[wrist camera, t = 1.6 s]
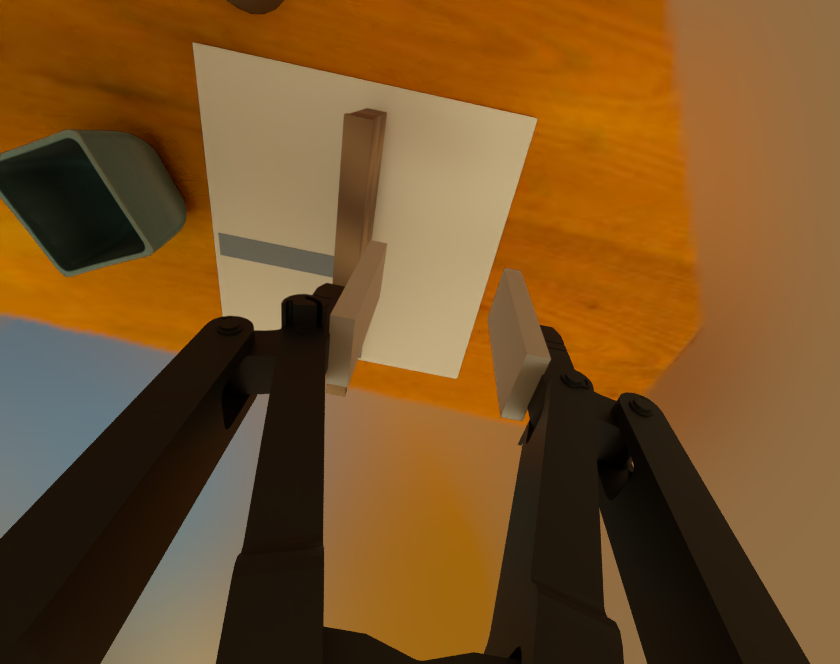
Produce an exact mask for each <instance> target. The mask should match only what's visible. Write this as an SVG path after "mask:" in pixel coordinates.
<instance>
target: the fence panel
mask: <svg viewBox="0 0 840 664" xmlns="http://www.w3.org/2000/svg"><path fill="white" fill-rule="evenodd" d="M386 117H387V112H383V111H379V110H374V109H370V108H366V109H363V110H359V111H356V112H353V113H350V114H349V113H345V114H344V121H343V135H342V150H341V165H340V180H339V194H338V209H337V224H336V239H335V253H334V268H333V283H332V284H335V285H340V286H346V285H347V283H348V281H349V279H350V277H351V275H352V273H353V272H354V270H355V268H356V266H357V264H358V262H359V260H360V259H361V257H362V255H363V253H364V251H365V249H366V248H367V246H368V244H369V242H370V240H372V233H373V224H374V216H375V208H376V200H377V191H378V183H379V175H380V167H381V158H382V150H383V142H384V134H385V125H386Z"/></svg>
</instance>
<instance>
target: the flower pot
mask: <svg viewBox="0 0 840 664" xmlns="http://www.w3.org/2000/svg"><path fill="white" fill-rule="evenodd" d="M0 198H1V199H2V200H3V202H5V204H6V205H7V206H8V208H9V209H10V210H11V211H12V212H13V213H14V215H15V216H16V217H17V219H18V220H19V221H20V222H21V224H22V225H23V226H24V227H25V229H26V230H27V231H28V232H29V234H30V235H31V236H32V238H33V239H34V240H35V242H36V243H37V244H38V246H39V247H40V248H41V249H42V250H43V252H44V253H45V254H46V256H47V257H48V258H49V260H50V261H51V262H52V263H53V265H54V266H55V267H56V268H57V269H58V270H59V271H60V272H61V273H62V274H63V275H64V276H66V277H71V276H75V275H78V274H82V273H85V272H89V271H92V270H95V269H99V268H103V267H107V266H111V265H114V264H118V263H122V262H126V261H130V260H134V259H138V258H142V257H147V256H150V255H152V254H153V253H154V252H156V251H157V250H158V249H159V248H160V247H162V246H163V245H164V244H165V243H166V242H168V241H169V240H170V239H171V238H172V237H174V236H175V235H176V234H177V233H178V232H179V231H180V230H181V228H182V227H183V225H184V223H185V220H186V205H185V201H184V200H183V198H182V196H181V194H180V192H179V191H178V189H177V187H176V186H175V184H174V182H173V180H172V179H171V177H170V175H169V173H168V172H167V170H166V168H165V166H164V164H163V162H162V161H161V159H160V157H159V155H158V154H157V152H156V151H155V150H154V149H153V148H152V147H151V146H150V145H149V144H147V143H146V142H145V141H143V140H142V139H140V138H138V137H136V136H134V135H132V134H129V133H125V132H120V131H105V130H74V129H67V130H64V131H61V132H59V133H56V134H53V135H51V136H48V137H45V138H43V139H40V140H37V141H34V142H31V143H29V144H27V145H23V146H21V147H17V148H15V149H12V150H9V151H6V152H3V153H0Z"/></svg>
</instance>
